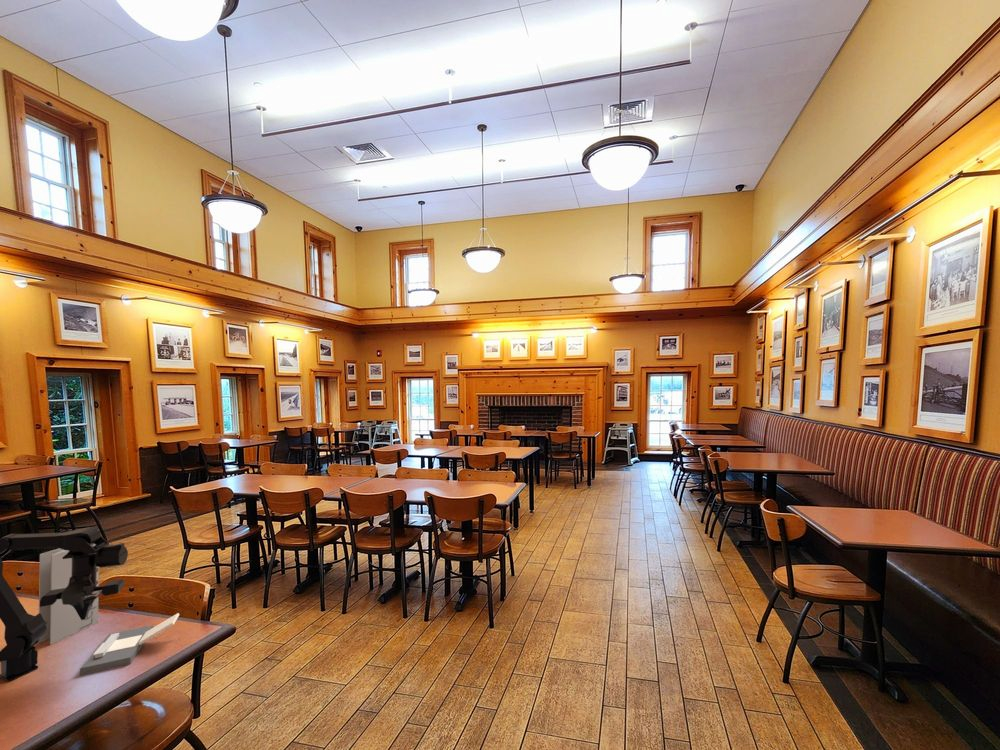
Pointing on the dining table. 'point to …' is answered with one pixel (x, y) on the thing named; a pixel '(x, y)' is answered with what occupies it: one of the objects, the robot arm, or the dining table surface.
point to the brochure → (58, 615)
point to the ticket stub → (159, 628)
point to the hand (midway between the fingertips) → (83, 619)
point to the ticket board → (115, 650)
